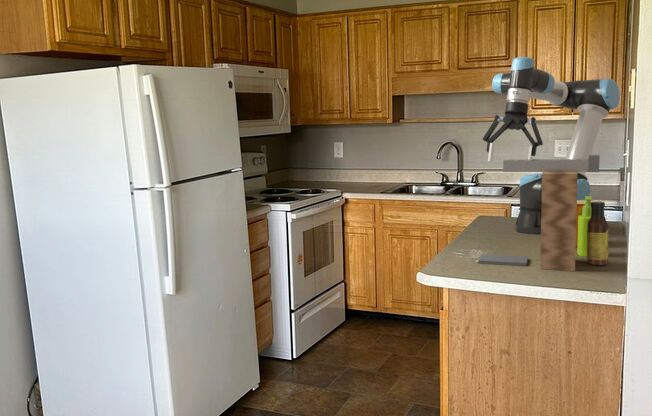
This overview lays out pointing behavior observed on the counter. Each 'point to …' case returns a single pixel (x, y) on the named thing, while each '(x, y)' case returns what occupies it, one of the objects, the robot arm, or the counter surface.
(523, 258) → the base plate
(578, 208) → the baking soda box
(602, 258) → the sauce bottle
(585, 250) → the soap dispenser
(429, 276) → the counter surface
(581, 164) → the pin
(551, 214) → the brown wooden block
